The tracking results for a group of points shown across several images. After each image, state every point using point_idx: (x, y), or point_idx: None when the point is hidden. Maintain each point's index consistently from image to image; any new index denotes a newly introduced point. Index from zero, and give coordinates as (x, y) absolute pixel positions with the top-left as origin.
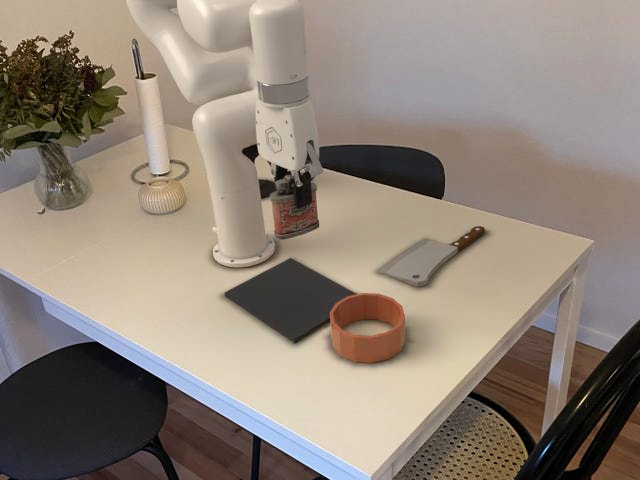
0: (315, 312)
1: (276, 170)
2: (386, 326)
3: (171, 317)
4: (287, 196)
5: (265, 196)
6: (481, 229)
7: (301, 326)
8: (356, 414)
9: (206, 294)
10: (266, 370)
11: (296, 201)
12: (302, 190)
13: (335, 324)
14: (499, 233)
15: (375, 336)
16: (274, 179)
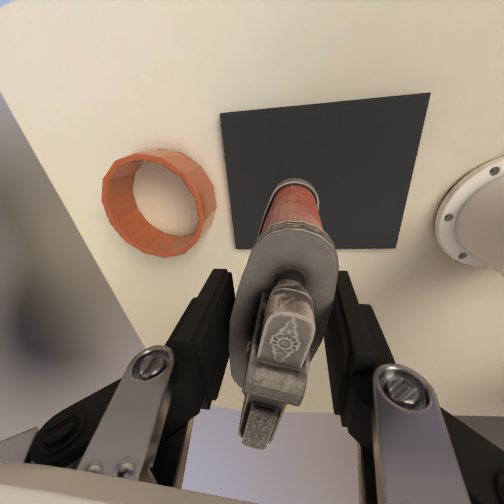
0: (252, 182)
1: (373, 413)
2: (179, 230)
3: None
4: (246, 285)
5: None
6: (245, 394)
7: (238, 144)
8: (56, 85)
9: (470, 62)
10: (192, 26)
11: (204, 285)
12: (170, 338)
13: (154, 160)
14: (236, 395)
15: (104, 184)
16: (370, 342)
